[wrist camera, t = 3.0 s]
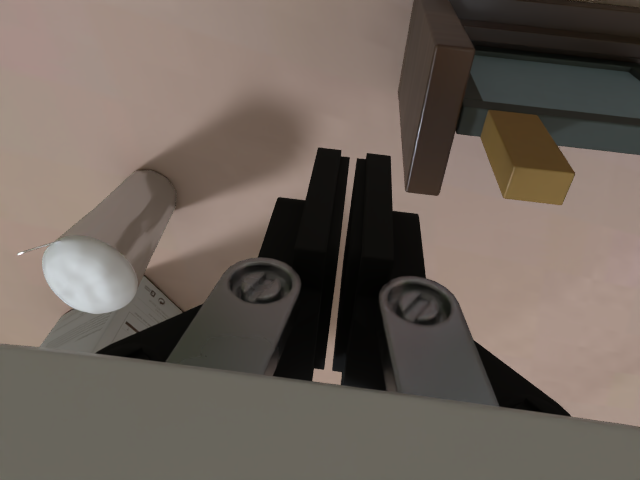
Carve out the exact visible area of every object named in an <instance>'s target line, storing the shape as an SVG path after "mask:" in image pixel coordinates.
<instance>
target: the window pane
mask: <svg viewBox="0 0 640 480" xmlns="http://www.w3.org/2000/svg"><path fill="white" fill-rule="evenodd" d="M474 48H475V51H476V52H475V56H474V59H473V63H472V67H471V71H470V75H469V79H468V83H467V87H466V91H465V95H464V99H463V103H462V107H461V111H460V115H459V119H458V123H457V127H456V133H457V134H461V135H470V136H479V137H481V140H482V143H483V146H484V148H485V151H486V153H487V156H488V159H489V161H490V164H491V167H492V169H493V172H494V175H495V177H496V180H497V183H498V185H499V188H500V191H501V193H502V196H503V198H505V199H514V200H522V201H530V202H539V203H547V204H556V205H562V204H563V201H564V199H565V197H566V194H567V192H568V190H569V187H570V185H571V183H572V180H573V178H574V176H575V172H574V171H573V169H572V168H571V166H570V165H569V163H568V161H567V160H566V158H565V157H564V155H563V154H562V152H561V151H560V149H559V148H558V146H566V147H575V148H584V149H592V150H601V151H610V152H618V153H627V154H636V155H640V64H639V63H630V62H621V61H612V60H602V59H593V58H584V57H575V56H565V55H556V54H547V53H538V52H528V51H519V50H510V49H501V48H491V47H482V46H474Z"/></svg>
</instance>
